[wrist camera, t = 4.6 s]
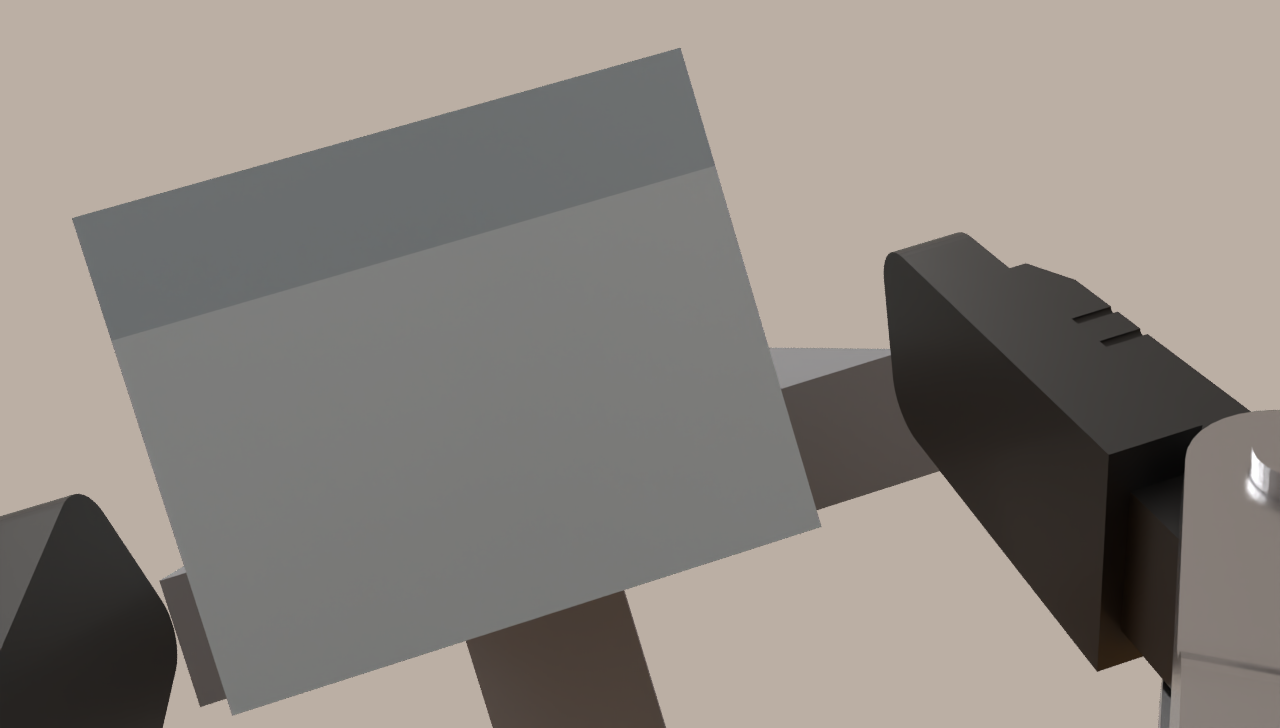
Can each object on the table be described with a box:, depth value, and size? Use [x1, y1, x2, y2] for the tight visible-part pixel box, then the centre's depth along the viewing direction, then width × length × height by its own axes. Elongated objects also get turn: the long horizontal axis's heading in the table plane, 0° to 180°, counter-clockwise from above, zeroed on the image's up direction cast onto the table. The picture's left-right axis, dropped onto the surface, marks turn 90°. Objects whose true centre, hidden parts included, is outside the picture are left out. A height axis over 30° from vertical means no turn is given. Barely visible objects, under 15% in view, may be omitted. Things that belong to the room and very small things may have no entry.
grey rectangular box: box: [72, 48, 821, 715], centre depth 19 cm, size 24×4×3 cm, turn 5°
